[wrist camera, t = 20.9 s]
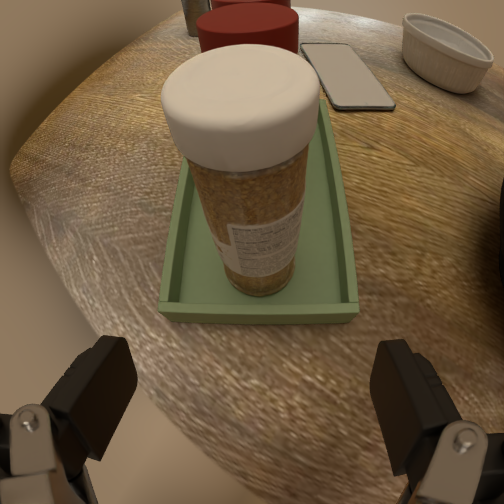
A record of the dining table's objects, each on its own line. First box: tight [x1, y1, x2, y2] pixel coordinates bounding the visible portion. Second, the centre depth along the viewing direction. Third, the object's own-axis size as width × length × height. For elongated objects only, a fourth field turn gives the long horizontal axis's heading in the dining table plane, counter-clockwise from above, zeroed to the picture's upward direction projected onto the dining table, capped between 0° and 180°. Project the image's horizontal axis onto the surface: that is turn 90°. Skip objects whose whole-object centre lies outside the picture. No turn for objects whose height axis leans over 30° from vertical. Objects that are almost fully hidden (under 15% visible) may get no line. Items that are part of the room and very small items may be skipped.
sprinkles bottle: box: [161, 44, 320, 297], centre depth 13 cm, size 5×5×13 cm
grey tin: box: [181, 0, 211, 36], centre depth 33 cm, size 4×4×10 cm
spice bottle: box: [196, 2, 299, 55], centre depth 16 cm, size 5×5×13 cm
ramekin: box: [402, 13, 494, 94], centre depth 27 cm, size 13×13×7 cm
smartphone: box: [300, 43, 396, 110], centre depth 29 cm, size 7×1×15 cm
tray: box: [158, 99, 360, 324], centre depth 21 cm, size 18×11×3 cm, turn 178°
